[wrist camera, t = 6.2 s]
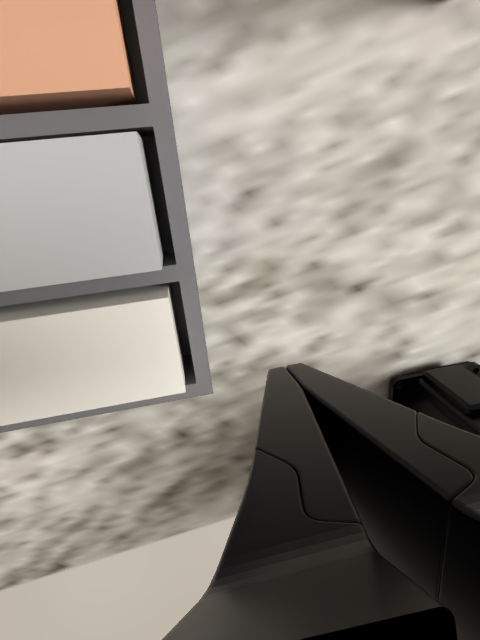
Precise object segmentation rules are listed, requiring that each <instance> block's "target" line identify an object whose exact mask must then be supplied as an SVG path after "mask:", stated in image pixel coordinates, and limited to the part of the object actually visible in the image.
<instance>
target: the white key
mask: <svg viewBox="0 0 480 640" xmlns="http://www.w3.org/2000/svg"><path fill="white" fill-rule="evenodd" d="M184 392H186V389H185V375H184V362H183V355H182V350H181V344H180V339H179V333H178V327H177V322H176V316H175V311H174V305H173V300H172V294H171V288H170V283H163V284H156V285H149V286H142V287H135V288H128V289H121V290H114V291H107V292H100V293H93V294H86V295H79V296H72V297H65V298H58V299H51V300H44V301H37V302H30V303H23V304H16V305H9V306H2V307H0V426H4V425H9V424H15V423H20V422H26V421H31V420H37V419H42V418H48V417H53V416H59V415H64V414H70V413H75V412H81V411H86V410H91V409H97V408H102V407H108V406H113V405H119V404H124V403H130V402H135V401H141V400H146V399H152V398H157V397H163V396H168V395H173V394H179V393H184Z"/></svg>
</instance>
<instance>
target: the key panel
mask: <svg viewBox="0 0 480 640" xmlns="http://www.w3.org/2000/svg"><path fill="white" fill-rule="evenodd" d="M119 5H120V10H121V16H122V21H123V27H124V33H125V38H126V44H127V49H128V55H129V60H130V66H131V72H132V77H133V83H134V88H135V94H136V99H137V104H135V105H122V106H109V107H96V108H83V109H71V110H58V111H45V112H32V113H19V114H7V115H0V143H9V142H20V141H32V140H43V139H55V138H66V137H77V136H89V135H100V134H112V133H123V132H135V131H136V132H137V133H138V134H139V136H140V137H141V138H142V140H143V143H144V149H145V155H146V160H147V166H148V171H149V177H150V182H151V188H152V193H153V199H154V204H155V210H156V216H157V221H158V227H159V232H160V238H161V243H162V249H163V263H162V270H158V271H150V272H143V273H136V274H129V275H121V276H114V277H107V278H100V279H92V280H85V281H78V282H70V283H63V284H56V285H49V286H41V287H34V288H27V289H20V290H12V291H5V292H0V307H2V306H9V305H16V304H23V303H30V302H37V301H44V300H51V299H58V298H65V297H72V296H79V295H86V294H93V293H100V292H107V291H114V290H121V289H128V288H135V287H142V286H149V285H156V284H163V283H170V288H171V294H172V300H173V305H174V311H175V316H176V322H177V327H178V333H179V339H180V344H181V350H182V355H183V362H184V375H185V389H186V392H184V393H179V394H173V395H168V396H163V397H157V398H152V399H146V400H141V401H135V402H130V403H124V404H119V405H113V406H108V407H102V408H97V409H91V410H86V411H81V412H75V413H70V414H64V415H59V416H53V417H48V418H42V419H37V420H31V421H26V422H20V423H15V424H9V425H4V426H0V433H2V432H7V431H13V430H18V429H23V428H29V427H34V426H40V425H45V424H50V423H56V422H61V421H67V420H72V419H77V418H83V417H88V416H94V415H99V414H104V413H110V412H115V411H121V410H126V409H131V408H137V407H142V406H148V405H153V404H158V403H164V402H169V401H175V400H180V399H185V398H191V397H196V396H202V395H207V394H212V393H213V389H212V382H211V375H210V369H209V362H208V355H207V349H206V342H205V335H204V328H203V322H202V315H201V308H200V302H199V295H198V288H197V281H196V275H195V268H194V261H193V254H192V248H191V241H190V234H189V228H188V221H187V214H186V207H185V201H184V194H183V187H182V180H181V174H180V167H179V160H178V154H177V147H176V140H175V133H174V127H173V120H172V113H171V106H170V100H169V93H168V86H167V80H166V73H165V66H164V59H163V53H162V46H161V39H160V32H159V26H158V19H157V12H156V6H155V0H119Z"/></svg>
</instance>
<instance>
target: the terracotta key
mask: <svg viewBox="0 0 480 640" xmlns="http://www.w3.org/2000/svg"><path fill="white" fill-rule="evenodd" d="M135 104H137V99H136V94H135V88H134V83H133V77H132V72H131V66H130V60H129V55H128V49H127V44H126V38H125V33H124V27H123V21H122V16H121V10H120V5H119V0H0V115H7V114H19V113H32V112H45V111H58V110H71V109H83V108H96V107H109V106H122V105H135Z"/></svg>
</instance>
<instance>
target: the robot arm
mask: <svg viewBox="0 0 480 640" xmlns="http://www.w3.org/2000/svg"><path fill="white" fill-rule="evenodd" d="M399 383H400V384H399ZM398 384H399V385H398ZM397 385H398V386H397ZM162 640H480V365H479V364H477V363H476V362H470V363H464V364H457V365H452V366H447V367H442V368H436V369H431V370H426V371H423V372H417V373H412V374H407V375H402V376H397V377H395V378H393V379H392V380H391V382H390V390H389V400H388V399H386V398H383V397H381V396H379V395H376V394H374V393H371V392H369V391H367V390H364V389H362V388H360V387H357V386H355V385H352V384H350V383H348V382H345V381H343V380H340V379H338V378H336V377H333V376H331V375H329V374H326V373H324V372H321V371H319V370H317V369H314V368H312V367H309V366H307V365H305V364H302V363H298V364H293V365H288V366H286V368H285V367H278V368H274V369H270V370H269V371H268V375H267V381H266V387H265V393H264V398H263V404H262V410H261V416H260V421H259V427H258V433H257V439H256V444H255V451H254V455H253V460H252V465H251V470H250V474H249V479H248V483H247V486H246V489H245V492H244V495H243V499H242V502H241V505H240V507H239V510H238V513H237V516H236V518H235V521H234V524H233V527H232V529H231V532H230V535H229V538H228V541H227V543H226V546H225V549H224V552H223V554H222V557H221V560H220V562H219V565H218V567H217V570H216V573H215V575H214V577H213V579H212V581H211V583H210V585H209V587H208V589H207V591H206V592H205V594H204V595H203V597H202V598H201V599H200V600H199V602H198V603H197V604H196V605H195V606H194V607H193V608H192V609H191V610H190V611H189V612H188V613H187V614H186V615H185V616H184V617H183V618H182V619H181V621H179V623H178V624H177V625H176V626H175V627H174V628H173V629H172V630H171V631H170V632H169V633H168V634H167V635H166V636H165V637H164V638H163V639H162Z"/></svg>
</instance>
